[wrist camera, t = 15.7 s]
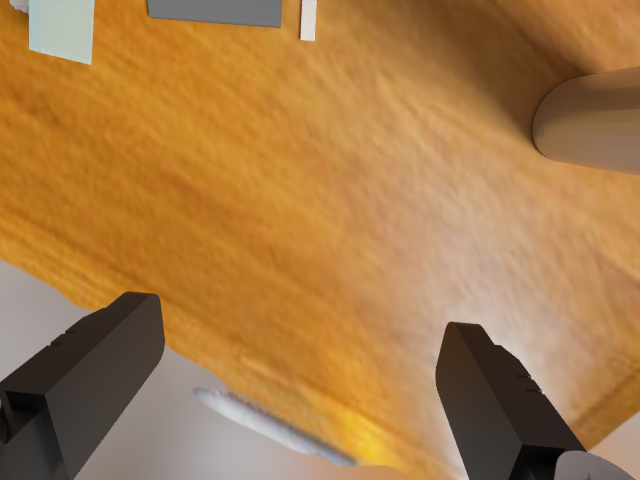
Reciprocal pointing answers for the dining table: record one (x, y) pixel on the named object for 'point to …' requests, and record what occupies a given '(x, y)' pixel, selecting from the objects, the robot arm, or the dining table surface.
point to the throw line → (308, 20)
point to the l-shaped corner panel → (60, 27)
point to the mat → (219, 11)
